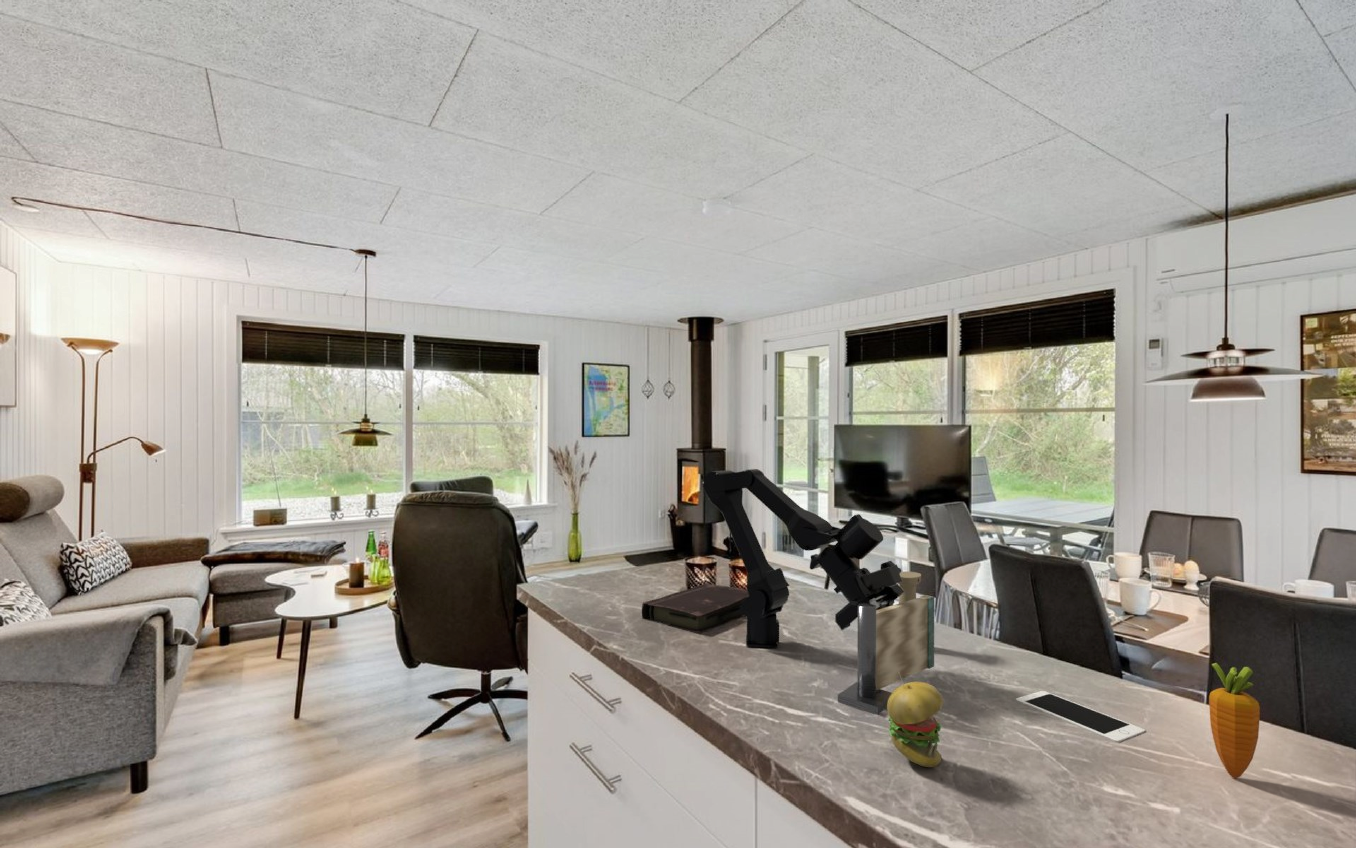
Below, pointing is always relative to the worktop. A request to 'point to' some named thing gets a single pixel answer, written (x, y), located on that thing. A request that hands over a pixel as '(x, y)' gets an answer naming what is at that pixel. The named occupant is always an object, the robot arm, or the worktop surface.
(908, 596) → the handle
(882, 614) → the gate
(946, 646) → the worktop surface
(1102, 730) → the cell phone
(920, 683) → the hamburger
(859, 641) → the hinge post
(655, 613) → the diary
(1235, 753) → the carrot
